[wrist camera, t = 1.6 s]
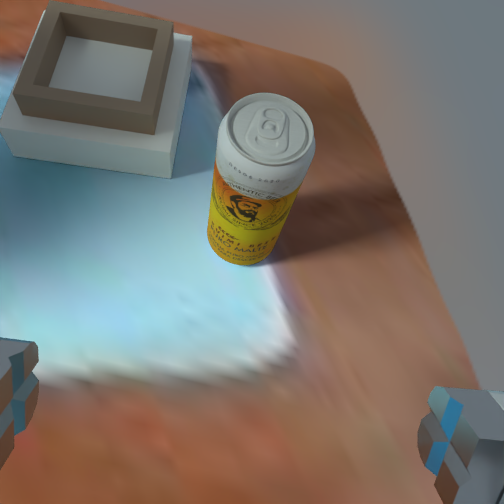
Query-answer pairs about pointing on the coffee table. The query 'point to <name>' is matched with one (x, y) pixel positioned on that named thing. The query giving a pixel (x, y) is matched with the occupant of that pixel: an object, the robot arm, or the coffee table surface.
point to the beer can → (257, 175)
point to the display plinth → (100, 91)
